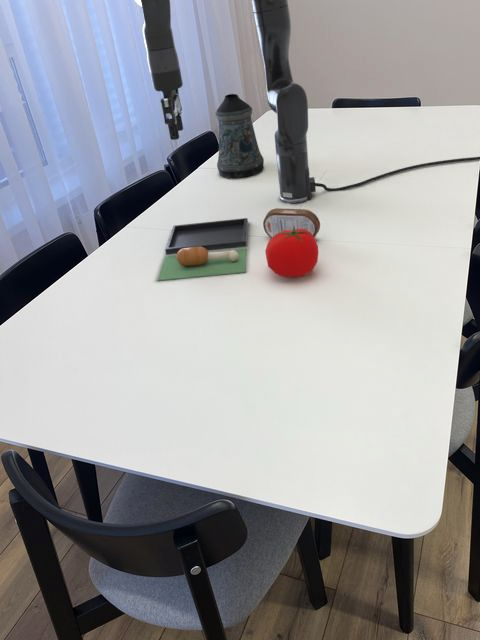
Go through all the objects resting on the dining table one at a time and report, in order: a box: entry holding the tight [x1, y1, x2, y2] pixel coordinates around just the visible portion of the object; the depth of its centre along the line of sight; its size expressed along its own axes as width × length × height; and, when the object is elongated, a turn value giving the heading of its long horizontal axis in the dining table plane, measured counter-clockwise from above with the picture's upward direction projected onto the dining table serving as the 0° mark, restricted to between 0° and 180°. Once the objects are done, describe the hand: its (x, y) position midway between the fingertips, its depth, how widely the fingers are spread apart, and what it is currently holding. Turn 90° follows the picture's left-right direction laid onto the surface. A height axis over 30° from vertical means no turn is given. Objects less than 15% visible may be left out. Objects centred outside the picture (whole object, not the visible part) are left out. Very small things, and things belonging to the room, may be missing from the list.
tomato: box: [265, 226, 319, 278], centre depth 135 cm, size 13×12×11 cm
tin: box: [262, 207, 321, 239], centre depth 151 cm, size 15×3×8 cm, turn 71°
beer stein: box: [215, 93, 265, 180], centre depth 197 cm, size 17×19×25 cm
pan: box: [164, 217, 249, 256], centre depth 159 cm, size 22×16×2 cm
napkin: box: [157, 247, 248, 282], centre depth 147 cm, size 22×13×1 cm, turn 89°
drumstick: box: [176, 247, 239, 266], centre depth 145 cm, size 16×5×5 cm, turn 89°
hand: (177, 134), depth 153 cm, fingers open, 8 cm apart
